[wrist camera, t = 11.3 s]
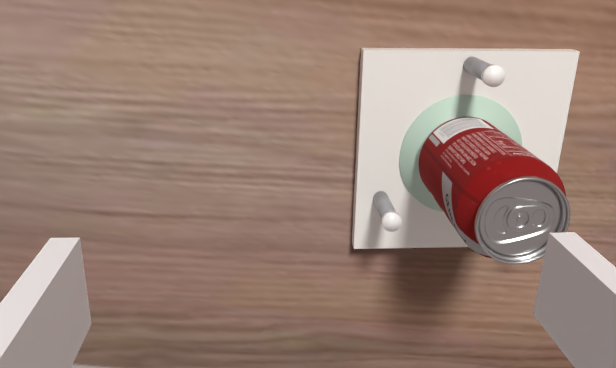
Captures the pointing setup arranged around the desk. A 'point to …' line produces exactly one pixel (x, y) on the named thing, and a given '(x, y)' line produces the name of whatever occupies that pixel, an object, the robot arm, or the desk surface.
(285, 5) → the desk surface
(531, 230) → the soda can
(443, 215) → the white pegged board
